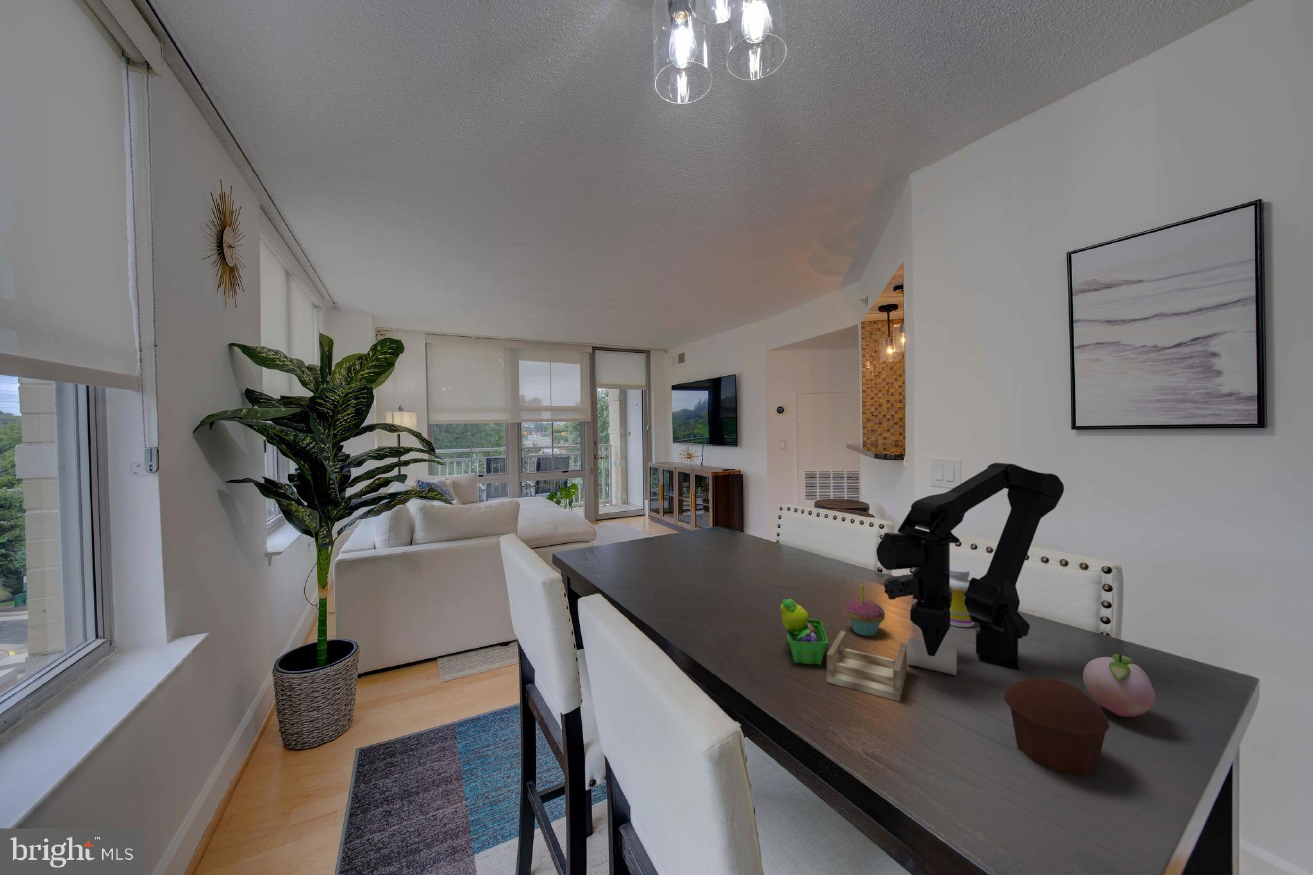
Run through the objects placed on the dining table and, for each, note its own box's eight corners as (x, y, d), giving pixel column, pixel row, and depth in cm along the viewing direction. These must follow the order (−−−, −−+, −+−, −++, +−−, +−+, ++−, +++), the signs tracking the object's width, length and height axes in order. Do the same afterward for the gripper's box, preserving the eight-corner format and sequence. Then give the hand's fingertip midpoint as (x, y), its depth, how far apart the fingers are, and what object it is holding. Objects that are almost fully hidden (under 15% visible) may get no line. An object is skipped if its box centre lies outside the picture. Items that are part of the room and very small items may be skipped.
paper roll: (956, 668, 93) (957, 642, 93) (956, 679, 89) (956, 653, 89) (909, 658, 97) (909, 633, 97) (906, 668, 93) (906, 642, 93)
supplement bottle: (980, 628, 111) (981, 573, 111) (951, 628, 111) (952, 573, 111) (963, 617, 118) (963, 565, 118) (935, 617, 118) (935, 565, 118)
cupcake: (879, 643, 104) (879, 588, 104) (839, 633, 109) (839, 580, 109) (888, 629, 111) (888, 578, 110) (850, 621, 116) (850, 571, 116)
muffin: (1060, 728, 74) (1060, 664, 74) (1133, 781, 63) (1134, 705, 63) (985, 730, 74) (985, 666, 74) (1046, 784, 63) (1046, 708, 62)
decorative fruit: (1081, 694, 84) (1081, 637, 83) (1148, 711, 78) (1149, 650, 78) (1084, 719, 76) (1085, 657, 76) (1158, 740, 71) (1159, 673, 71)
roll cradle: (906, 671, 92) (906, 644, 92) (899, 701, 82) (899, 671, 82) (840, 655, 98) (840, 630, 98) (826, 681, 88) (826, 653, 88)
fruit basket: (828, 669, 93) (828, 611, 93) (781, 664, 95) (781, 608, 95) (821, 643, 104) (820, 591, 104) (778, 639, 106) (778, 589, 106)
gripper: (892, 549, 105) (892, 620, 105) (879, 571, 89) (879, 655, 89) (952, 556, 99) (952, 631, 99) (950, 581, 83) (949, 670, 83)
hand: (932, 645), depth 93 cm, fingers open, 9 cm apart
